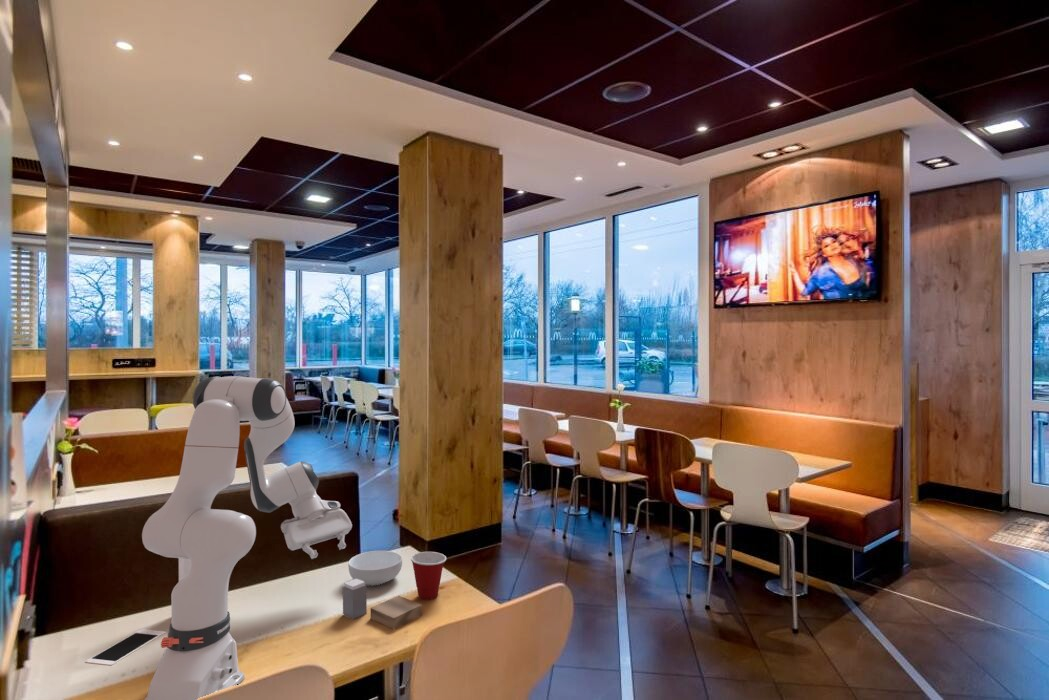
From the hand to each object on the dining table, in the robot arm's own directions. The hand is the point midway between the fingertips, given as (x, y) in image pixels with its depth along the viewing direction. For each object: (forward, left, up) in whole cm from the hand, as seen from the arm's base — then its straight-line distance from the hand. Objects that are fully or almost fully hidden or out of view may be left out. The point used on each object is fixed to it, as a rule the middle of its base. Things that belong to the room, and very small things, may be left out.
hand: (329, 552), depth 168 cm
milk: (-3, +37, -15) cm, 40 cm away
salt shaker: (-8, -9, -15) cm, 19 cm away
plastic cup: (+2, -29, -15) cm, 33 cm away
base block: (-11, -21, -15) cm, 28 cm away
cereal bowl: (+15, -11, -15) cm, 24 cm away
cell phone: (-20, +45, -15) cm, 52 cm away
